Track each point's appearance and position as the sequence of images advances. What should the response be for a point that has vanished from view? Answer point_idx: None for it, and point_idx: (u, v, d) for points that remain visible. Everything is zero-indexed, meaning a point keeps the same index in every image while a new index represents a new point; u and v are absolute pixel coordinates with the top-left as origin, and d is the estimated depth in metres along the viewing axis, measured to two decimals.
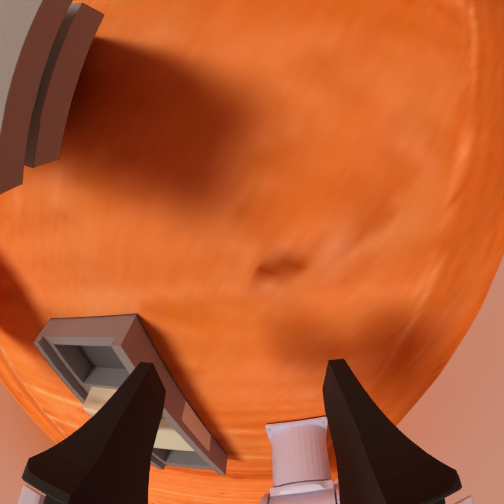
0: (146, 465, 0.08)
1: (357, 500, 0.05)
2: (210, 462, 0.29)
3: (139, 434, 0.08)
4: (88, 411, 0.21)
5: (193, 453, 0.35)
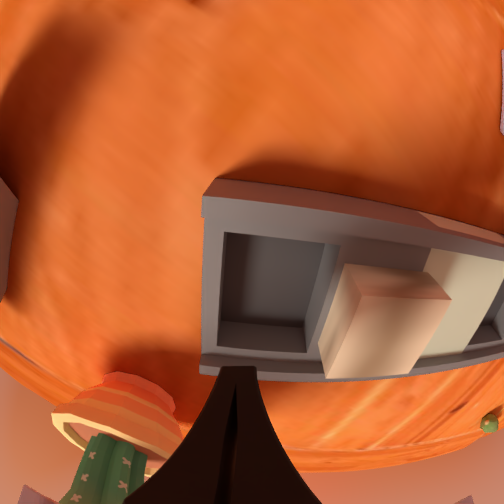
0: None
1: None
2: None
3: (232, 443, 0.08)
4: (338, 374, 0.14)
5: None
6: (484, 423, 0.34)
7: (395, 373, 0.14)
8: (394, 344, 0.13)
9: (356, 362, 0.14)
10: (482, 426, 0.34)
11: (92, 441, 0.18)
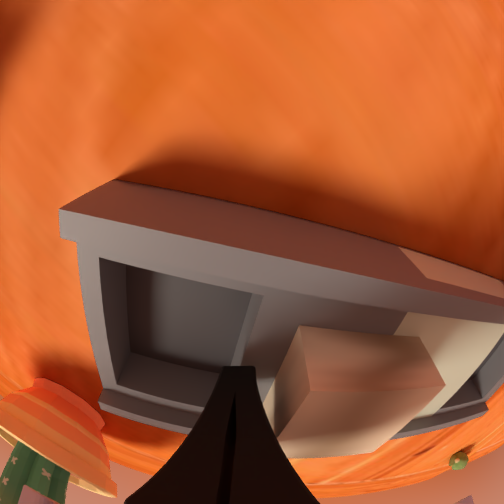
0: None
1: None
2: None
3: (233, 444, 0.08)
4: None
5: (503, 343, 0.15)
6: (454, 461, 0.32)
7: (355, 453, 0.10)
8: (356, 433, 0.09)
9: (302, 447, 0.09)
10: (451, 464, 0.32)
11: (18, 445, 0.13)
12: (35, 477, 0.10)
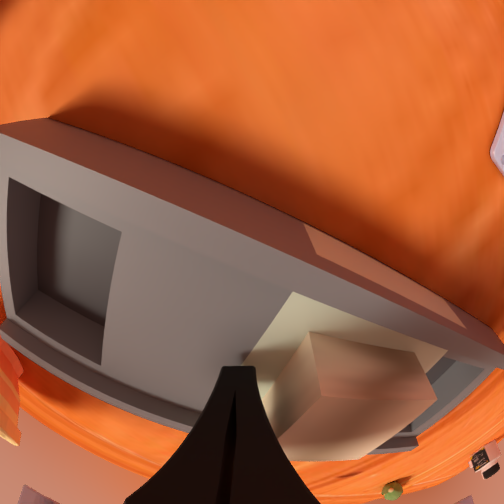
0: None
1: None
2: (484, 352, 0.10)
3: (233, 443, 0.08)
4: None
5: (444, 376, 0.16)
6: (387, 490, 0.34)
7: (343, 459, 0.10)
8: (350, 439, 0.09)
9: (296, 450, 0.09)
10: (384, 492, 0.34)
11: None
12: None
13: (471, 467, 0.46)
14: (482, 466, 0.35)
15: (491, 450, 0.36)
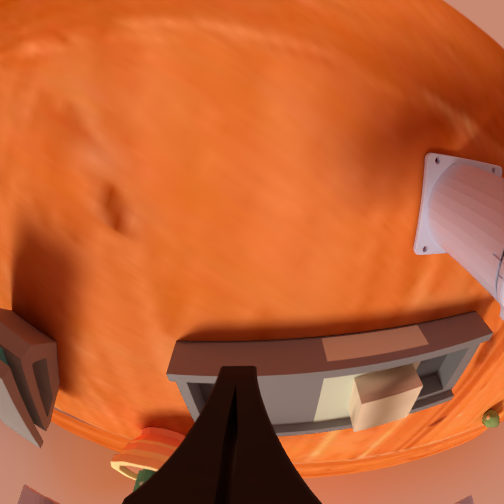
0: None
1: None
2: (448, 349, 0.19)
3: (232, 444, 0.08)
4: (360, 428, 0.21)
5: None
6: (485, 418, 0.37)
7: (397, 419, 0.21)
8: (390, 411, 0.20)
9: (369, 422, 0.21)
10: (484, 421, 0.37)
11: (140, 474, 0.27)
12: None
13: None
14: None
15: None
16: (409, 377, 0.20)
